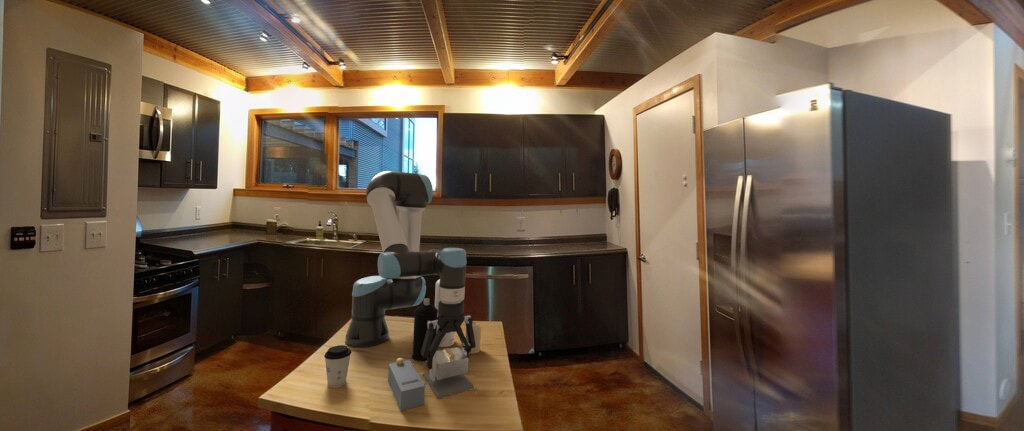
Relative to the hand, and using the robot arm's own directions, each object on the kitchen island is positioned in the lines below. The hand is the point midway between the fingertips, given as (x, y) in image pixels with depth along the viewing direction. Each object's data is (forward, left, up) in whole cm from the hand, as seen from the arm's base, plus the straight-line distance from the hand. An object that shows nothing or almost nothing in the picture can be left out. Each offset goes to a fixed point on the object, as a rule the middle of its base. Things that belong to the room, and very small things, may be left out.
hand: (447, 374), depth 97 cm
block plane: (0, -12, -2) cm, 13 cm away
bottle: (-27, +9, -2) cm, 28 cm away
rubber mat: (0, 0, -2) cm, 2 cm away
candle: (-16, +16, -2) cm, 22 cm away
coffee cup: (-13, -28, -2) cm, 31 cm away
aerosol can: (-19, -1, -2) cm, 19 cm away
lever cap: (0, 0, +2) cm, 2 cm away
